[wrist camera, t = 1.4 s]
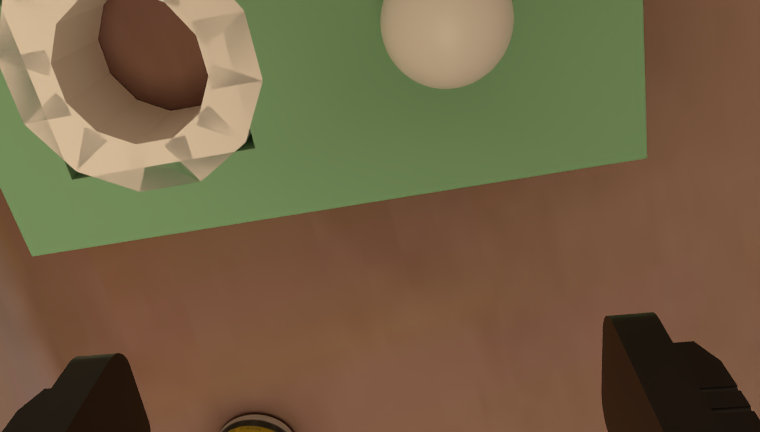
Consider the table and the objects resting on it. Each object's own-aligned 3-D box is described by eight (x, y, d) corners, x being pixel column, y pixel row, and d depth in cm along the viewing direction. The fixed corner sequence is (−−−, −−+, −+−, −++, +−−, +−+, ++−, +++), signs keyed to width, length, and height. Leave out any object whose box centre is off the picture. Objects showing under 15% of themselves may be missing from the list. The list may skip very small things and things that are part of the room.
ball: (497, -67, 24) (515, -57, 20) (511, 59, 26) (530, 92, 22) (371, -42, 24) (364, -27, 20) (394, 80, 26) (392, 115, 22)
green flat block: (598, -240, 25) (635, -264, 21) (615, 122, 31) (647, 158, 27) (-52, -95, 28) (-129, -91, 24) (76, 211, 34) (32, 256, 30)
